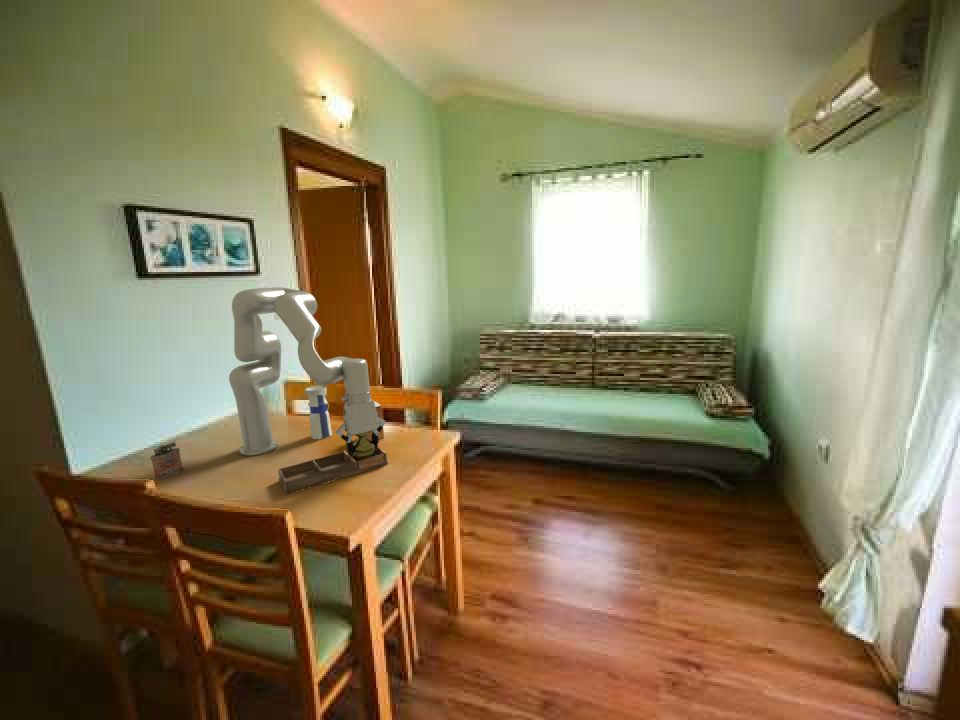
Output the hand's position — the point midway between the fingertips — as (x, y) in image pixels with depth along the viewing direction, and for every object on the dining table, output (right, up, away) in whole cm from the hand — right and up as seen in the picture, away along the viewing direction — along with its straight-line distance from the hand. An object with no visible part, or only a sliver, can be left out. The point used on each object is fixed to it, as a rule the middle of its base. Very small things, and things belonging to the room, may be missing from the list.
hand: (363, 449), depth 142 cm
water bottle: (-24, -1, +28) cm, 36 cm away
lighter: (-63, -8, -1) cm, 64 cm away
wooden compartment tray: (-8, -6, -5) cm, 11 cm away
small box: (-3, -1, +23) cm, 23 cm away
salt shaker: (0, -3, +1) cm, 3 cm away
